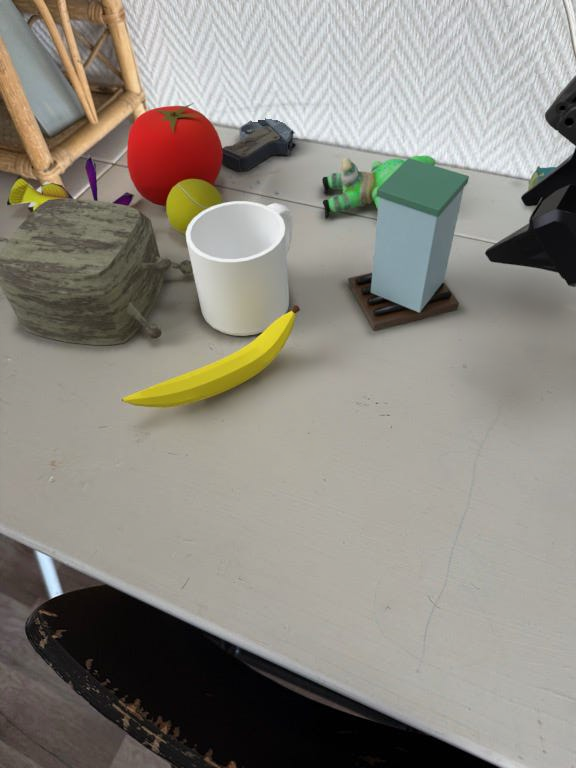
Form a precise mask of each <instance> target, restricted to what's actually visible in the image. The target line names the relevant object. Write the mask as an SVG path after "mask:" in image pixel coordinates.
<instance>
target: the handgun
mask: <svg viewBox="0 0 576 768" xmlns="http://www.w3.org/2000/svg"><path fill="white" fill-rule="evenodd" d="M283 122H284V121H283ZM283 122H280V121H278V120H272V119H266V118H265V120H258V122H252V121H251V120H249V121H248V122H246V123H244V124H243V125H241V126H240V127H239V130H238V131H239V138H240V140H238V141H237V142H235V143H234V144H232V145H225V146H224V147H223V146H222V152H223V158H222V165H224V166H227V167H228V168H231V169H233V170H235V171H237V172H241V171H243V172H245V171H246V172H247V171H250V170H251V169H253V168H254V167H256V166H257V165H259V164H260V163H262V162H264V161H265V160H266V159H268V158H269V157H271V156H276V155H282V156H288V155H289V154H290V152H293V149H294V148H296V146H297V144H296V143H295V140H294V135H296V132H295V131H294V129H291V128H290V127H289V126H288V124H286V123H285V122H284V123H283ZM252 130H255V131H252Z"/></svg>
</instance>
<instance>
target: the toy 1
mask: <svg viewBox="0 0 576 768" xmlns="http://www.w3.org/2000/svg"><path fill="white" fill-rule="evenodd" d="M84 170H85V173H86V177H87V180H88V184H89V188H90V191H91V195H92V197H93V199H92V200H93V201H99V200H98V182H97V179H98V178H97V166H96V163H95V161H94V160H93V158H92V157H91V155H90V153H88V154H87V159H86V162H85V167H84ZM11 187H12V188H11V189H10V191H9V196H8V199H7V202H6V206H11V205H21V204H27V203H29V205H28V207H27V209H28V210H29V212H30V213H32V212H33V211H34V210H35V209H36V208H37V207H38V206H40V205H41V204H42V203H44V202H46V201H47V200H51V199H75V198H74V197H73V196H72V195H71V194H70V193H69V192H68V190H67V189H66V188H65V187H64V186H63V185H62V184H58V183H54V182H50V181H45V182H44V183H43V184H41V185H40V186H39V187H37V188H36V189H35V188H34V187H33V186H32V185H31V184H30V183H29V182H28V181H26V180H25V179H24V178H23V177H21V176H20V175H18V177H17V179H16V180H15V182H14V183H13V186H11ZM135 196H136V195H135V194H133V193H131V192H128V191H126V192H125V193H124V194H122V195H121V196H119V197H118V198H117V199H116V200H114V201H113V202H112V203H114V204H121V205H125V206H129V207H130V204H131V203H132V202H133V199H134V198H135Z"/></svg>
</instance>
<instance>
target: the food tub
mask: <svg viewBox="0 0 576 768" xmlns="http://www.w3.org/2000/svg"><path fill="white" fill-rule="evenodd" d="M404 161H405V162H404V163H403V164H402V165H401V166H400V167H399V168H398V169H397V170H396V171H395V172H394V173H393V174H392V175H391V176H390V177H389V178H388V179H387V180H386V181H385V182H384V183H383V184H382V185H381V186H380V187H379V188H378V189H377V195H376V196H377V197H379V204H378V209H377V217H376V227H375V239H374V251H373V259H372V260H373V261H372V272H371V273H372V282H371V293H373V294H375V295H377V296H380V297H382V298H385V299H387V300H390V301H392V302H394V303H397V304H399V305H402V306H404V307H407V308H409V309H411V310H414V311H416V312H419V313H420V312H421V310H422V309H423V308H424V306H425V305H426V304H427V302H428V301H429V300H430V299H431V297H432V296H433V295H434V293H435V292H436V291H437V289H438V288H439V287H440V286H441V284H442V283H443V282H444V283H445V278H446V273H447V268H448V265H449V264H448V263H449V261H450V260H449V259H450V255H451V250H452V245H453V240H454V235H455V230H456V226H457V222H458V217H459V214H460V208H461V204H462V198H463V193H464V190H465V187H466V186H467V185H468V183H469V179H470V176H469V175H467V174H463V173H460V172H457V171H453V170H450V169H447V168H443V167H439V166H437V165H430V164H427V163H424V162H421V161H417V160H414V159H411V158H410V157H408V158H407V159H405V160H404Z"/></svg>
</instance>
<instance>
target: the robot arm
mask: <svg viewBox="0 0 576 768" xmlns="http://www.w3.org/2000/svg"><path fill="white" fill-rule="evenodd" d="M544 118H545V121H546V122H547V124H548V126H550V127H551V128H552V129H554V130H555V131H557V133H559V134H560V135H561V136H562V137H563V138H565V139H566V140H567V141H569V142H570V143H571V144H573V146H575V148H574V151H573V153H572V154H570V155H569V156H568V157H567V158H566V159H565V160H563V161H562V162H561V163H559V165H556V166H555V167H556V168H555V169H554V170H552V171H551V172H550V173H549V174H548V175H546V176H545V177H544V178H543V179H541V180H540V181H539V182H538V183H537V184H535V185H534V186H533V187H532V188H530V189H529V190H528V189H527V190H526V191H525V192H524V193H523V194H522V195H521V197H520V199H521V201H522V203H523V204H524V206H525V207H534V206H535V208H534V210H533V211H532V213H530V216H529V219H528V223H527V224H526V225H524V226H521V227H520V228H519V229H518V230H515V231H514V232H512V233H510V234H509V235H508V236H506V237H504V238H501V240H499V241H498V242H496V243H494V244H492V245H491V246H490V247H488V248H487V249H486V250H485V256H486V257H487V259H488V260H489V262H491V263H497V264H504V265H512V266H519V267H527V268H534V269H539V270H544V271H547V272H552V273H557V274H559V276H560V278H561V279H562V280H564V281H565V282H566V285H568V286H569V287H574V288H576V74H575V75H574V76H573V77H572V78H571V80H570V81H569V82H568V83H567V84H566V85H565V87H564V88H563V89H562V90H561V91H560V92H559V93H558V95H557V96H556V97H555V99H554V100H553V102H552V103H551V105H550V106H549V108H548V109H546V111H545V113H544Z"/></svg>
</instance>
